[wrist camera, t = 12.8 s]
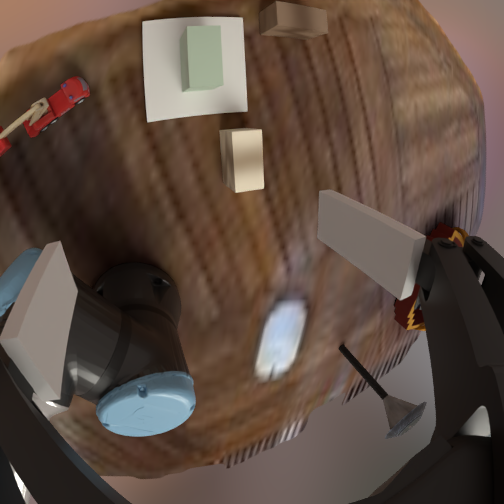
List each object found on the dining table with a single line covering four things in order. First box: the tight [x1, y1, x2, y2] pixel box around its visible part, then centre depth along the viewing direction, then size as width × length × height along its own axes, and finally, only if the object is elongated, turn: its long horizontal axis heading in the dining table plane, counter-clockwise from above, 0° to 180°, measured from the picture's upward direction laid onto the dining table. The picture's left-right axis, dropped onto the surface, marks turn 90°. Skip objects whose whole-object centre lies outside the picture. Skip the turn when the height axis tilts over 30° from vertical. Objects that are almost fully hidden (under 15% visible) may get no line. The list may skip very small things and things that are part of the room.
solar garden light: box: [339, 345, 426, 439], centre depth 60 cm, size 12×12×30 cm
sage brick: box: [180, 26, 224, 92], centre depth 30 cm, size 8×4×6 cm, turn 2°
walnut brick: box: [259, 1, 328, 40], centre depth 32 cm, size 8×4×6 cm, turn 92°
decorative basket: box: [394, 222, 469, 331], centre depth 70 cm, size 34×29×15 cm
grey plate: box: [142, 17, 247, 122], centre depth 33 cm, size 15×14×1 cm
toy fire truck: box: [0, 76, 90, 157], centre depth 24 cm, size 3×14×10 cm, turn 114°
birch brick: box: [219, 128, 264, 193], centre depth 39 cm, size 8×4×6 cm, turn 2°
